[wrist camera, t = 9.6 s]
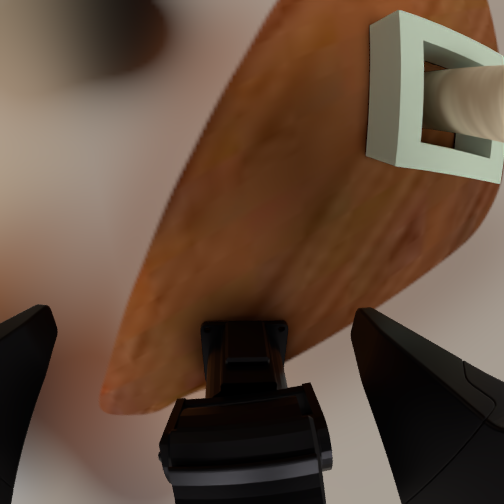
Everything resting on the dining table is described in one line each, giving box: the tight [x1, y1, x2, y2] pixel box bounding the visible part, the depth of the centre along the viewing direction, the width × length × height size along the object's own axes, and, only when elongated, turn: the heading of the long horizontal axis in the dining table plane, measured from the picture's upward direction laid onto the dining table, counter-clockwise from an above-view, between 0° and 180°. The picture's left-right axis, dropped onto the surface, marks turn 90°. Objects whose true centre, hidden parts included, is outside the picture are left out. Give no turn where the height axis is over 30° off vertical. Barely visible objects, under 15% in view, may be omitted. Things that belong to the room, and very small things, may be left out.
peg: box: [422, 65, 504, 143], centre depth 13 cm, size 4×4×9 cm
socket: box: [366, 10, 504, 184], centre depth 15 cm, size 9×9×4 cm
